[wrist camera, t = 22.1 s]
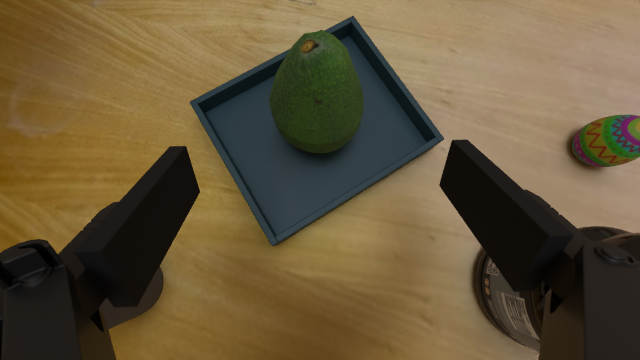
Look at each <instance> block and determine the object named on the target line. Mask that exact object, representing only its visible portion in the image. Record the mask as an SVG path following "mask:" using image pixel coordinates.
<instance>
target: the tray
mask: <svg viewBox="0 0 640 360" xmlns="http://www.w3.org/2000/svg"><path fill="white" fill-rule="evenodd" d="M325 32H327V33H330V34H332V35H334V36H335V37H336V38H337V39H338V40H339V41H340V42H341V43H342V44H343V45H344V46H345V47H346V48H347V50H348V53H349V55H350V58H351V60H352V63H353V66H354V68H355V71H356V73H357V75H358V78H359V81H360V85H361V88H362V93H363V97H364V107H363V114H362V118H361V122H360V126H359V129H358V131H357V132H356V133H355V135H354V136H353V138H352V139H351V140H350V141H348V142H347V143H346V144H345V145H344V146H342V147H341V148H339V149H337V150H334V151H332V152H329V153H311V152H307V151H304V150H301V149H299V148H297V147H295V146H294V145H292V144H291V143H289V142H288V141H287V140H286V139H285V138H284V137H283V136H282V135H281V134H280V132H279V130H278V129H277V127H276V125H275V122H274V119H273V117H272V114H271V109H270V104H269V100H270V93H271V89H272V85H273V82H274V79H275V76H276V73H277V71H278V69H279V67H280V65H281V64H282V62H283V60H284V59H285V57H286V55H287V53H288V52H289V51H290V49H289V50H287V51H285V52H283V53H281V54H279V55H277V56H276V57H274V58H272V59H270V60H268V61H266V62H264V63H262V64H260V65H258V66H257V67H255V68H253V69H251V70H249V71H247V72H245V73H243V74H241V75H240V76H238V77H236V78H234V79H232V80H230V81H228V82H226V83H224V84H222V85H221V86H219V87H217V88H215V89H213V90H211V91H209V92H207V93H205V94H203V95H202V96H200V97H198V98H196V99H194V100H192V101H190V104H191V106H192V107H193V109H194V111H195V113H196V114H197V116H198V118H199V119H200V121H201V123H202V125H203V126H204V128H205V130H206V132H207V133H208V135H209V137H210V139H211V140H212V142H213V144H214V146H215V147H216V149H217V151H218V153H219V154H220V156H221V158H222V160H223V161H224V163H225V165H226V167H227V168H228V170H229V172H230V174H231V175H232V177H233V179H234V181H235V182H236V184H237V186H238V188H239V189H240V191H241V193H242V195H243V196H244V198H245V200H246V202H247V203H248V205H249V207H250V209H251V210H252V212H253V214H254V216H255V217H256V219H257V221H258V223H259V224H260V226H261V228H262V230H263V231H264V233H265V235H266V237H267V238H268V240H269V242H270V244H271V245H272V246H275V245H278V244H280V243H281V242H283V241H284V240H286V239H288V238H289V237H291V236H292V235H294V234H296V233H297V232H299V231H300V230H302V229H304V228H305V227H307V226H308V225H310V224H312V223H313V222H315V221H316V220H318V219H320V218H321V217H323V216H324V215H326V214H328V213H329V212H331V211H332V210H334V209H336V208H337V207H339V206H340V205H342V204H344V203H345V202H347V201H348V200H350V199H352V198H353V197H355V196H356V195H358V194H360V193H361V192H363V191H364V190H366V189H368V188H369V187H371V186H372V185H374V184H376V183H377V182H379V181H380V180H382V179H384V178H385V177H387V176H388V175H390V174H392V173H393V172H395V171H396V170H398V169H400V168H401V167H403V166H404V165H406V164H408V163H409V162H411V161H412V160H414V159H416V158H417V157H419V156H421V155H422V154H424V153H425V152H427V151H429V150H430V149H432V148H433V147H434V146H436V145H437V144H438V143H440V142H441V141H442V140H444V138H443V136H442V135H441V134H440V132H439V131H438V130H437V128H436V127H435V126H434V124H433V123H432V121H431V120H430V119H429V117H428V116H427V115H426V113H425V112H424V111H423V109H422V108H421V107H420V105H419V104H418V103H417V101H416V100H415V99H414V97H413V96H412V94H411V93H410V92H409V90H408V89H407V88H406V86H405V85H404V84H403V82H402V81H401V80H400V78H399V77H398V76H397V74H396V73H395V72H394V70H393V69H392V67H391V66H390V65H389V63H388V62H387V61H386V59H385V58H384V57H383V55H382V54H381V53H380V51H379V50H378V49H377V47H376V46H375V45H374V43H373V42H372V41H371V39H370V38H369V36H368V35H367V34H366V32H365V31H364V30H363V28H362V27H361V26H360V24H359V23H358V22H357V20H356V19H355V18H354V16H352V17H350V18H348V19H346V20H344V21H342V22H340V23H338V24H336V25H334V26H333V27H331V28H329V29H327V30H325Z"/></svg>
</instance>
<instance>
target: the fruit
mask: <svg viewBox="0 0 640 360" xmlns="http://www.w3.org/2000/svg"><path fill="white" fill-rule="evenodd" d="M269 104H270V109H271V114H272V117H273V119H274V122H275V125H276V127H277V129H278V130H279V132H280V134H281V135H282V136H283V137H284V138H285V139H286V140H287V141H288V142H289V143H291V144H292V145H294V146H295V147H297V148H299V149H301V150H304V151H307V152H311V153H329V152H332V151H334V150H337V149H339V148H341V147H342V146H344V145H345V144H346V143H347V142H348V141H350V140H351V139H352V138H353V136H354V135H355V133H356V132H357V131H358V129H359V126H360V122H361V118H362V114H363V107H364V97H363V93H362V88H361V85H360V81H359V78H358V75H357V73H356V71H355V68H354V66H353V63H352V60H351V58H350V55H349V53H348V50H347V48H346V47H345V46H344V45H343V44H342V43H341V42H340V41H339V40H338V39H337V38H336V37H335V36H334V35H332V34H330V33H327V32H325V31H323V30H321V31H318V32H312V33H306V34H304V35H303V36H302V37H301V38H300V39H299V40H298V41H297V42H296V43H295V44H294V45H293V47H292V48H291V49H290V51H289V52H288V53H287V55H286V57H285V59H284V60H283V62H282V64H281V65H280V67H279V69H278V71H277V73H276V76H275V79H274V82H273V85H272V89H271V93H270V100H269Z"/></svg>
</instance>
